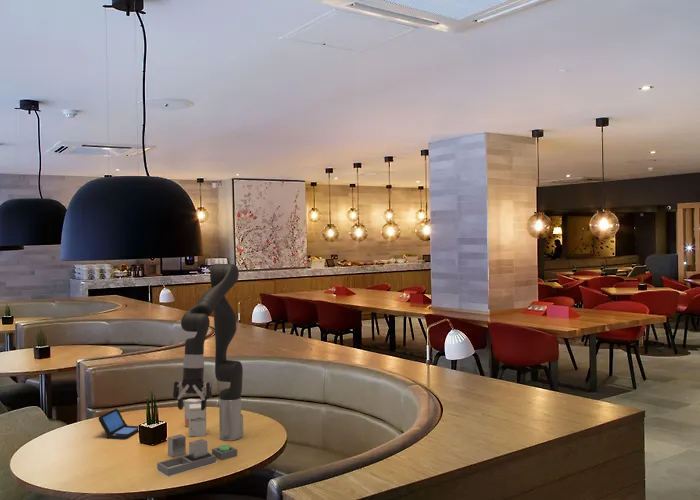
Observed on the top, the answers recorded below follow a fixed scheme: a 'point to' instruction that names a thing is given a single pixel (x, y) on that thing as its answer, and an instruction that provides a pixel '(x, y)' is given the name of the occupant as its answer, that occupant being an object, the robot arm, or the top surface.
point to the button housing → (224, 453)
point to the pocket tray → (183, 464)
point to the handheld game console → (116, 425)
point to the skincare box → (187, 402)
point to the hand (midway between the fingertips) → (191, 409)
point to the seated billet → (197, 450)
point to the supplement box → (197, 420)
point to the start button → (224, 448)
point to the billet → (176, 445)
